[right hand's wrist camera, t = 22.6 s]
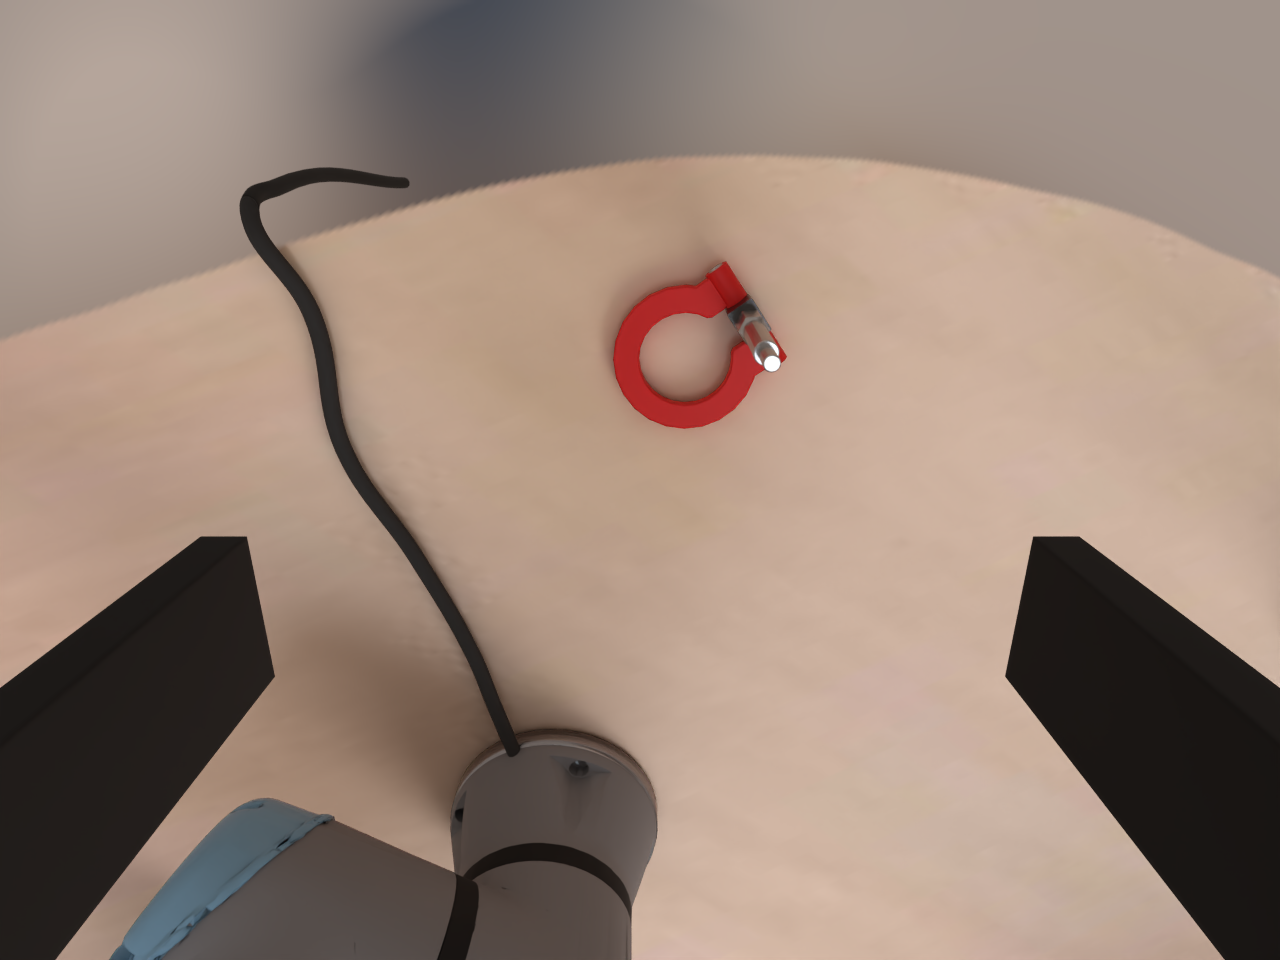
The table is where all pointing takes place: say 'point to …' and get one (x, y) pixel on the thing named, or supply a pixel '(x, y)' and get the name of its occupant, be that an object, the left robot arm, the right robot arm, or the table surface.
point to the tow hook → (707, 302)
